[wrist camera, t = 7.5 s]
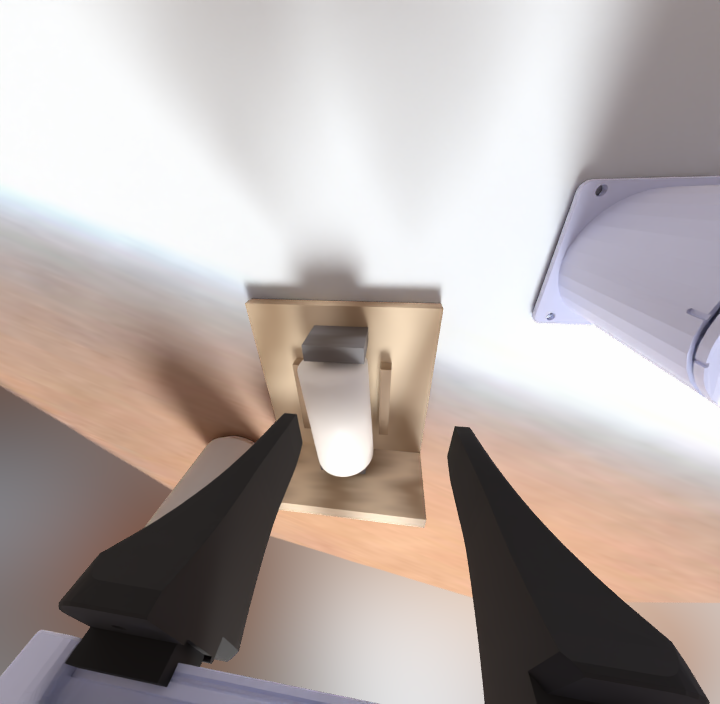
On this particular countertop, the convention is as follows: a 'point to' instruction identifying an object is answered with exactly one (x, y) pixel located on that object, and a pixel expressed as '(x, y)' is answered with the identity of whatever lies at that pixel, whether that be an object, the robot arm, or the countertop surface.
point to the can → (204, 470)
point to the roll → (339, 414)
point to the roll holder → (387, 397)
